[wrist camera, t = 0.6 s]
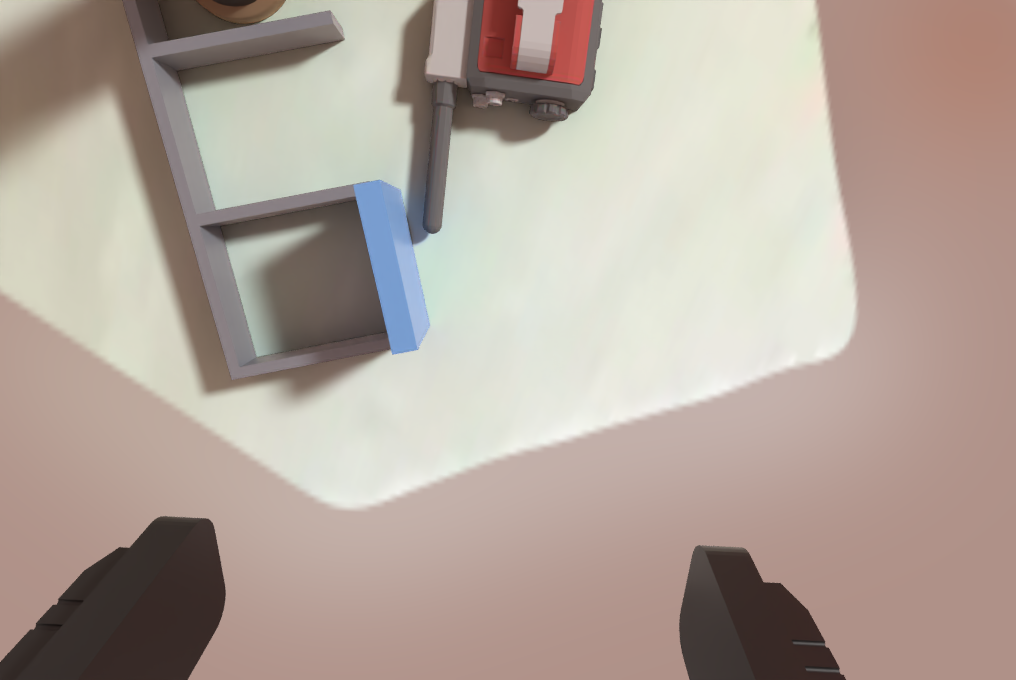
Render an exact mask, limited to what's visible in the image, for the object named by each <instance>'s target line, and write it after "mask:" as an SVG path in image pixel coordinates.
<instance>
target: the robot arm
mask: <svg viewBox="0 0 1016 680" xmlns="http://www.w3.org/2000/svg"><path fill="white" fill-rule="evenodd" d="M225 595H226V593H225V583H224V578H223V573H222V567H221V561H220V556H219V550H218V545H217V540H216V534H215V529H214V526H213V523H212V522H211V521H210V520H209V519H206V518H185V517H167V516H163V517H159V518H157V519H155V520H154V521H153V522H152V523H151V524H150V525H149V526H148V527H147V528H146V530H145V531H144V532H143V533H142V534H141V535H140V536H139V538H138V539H137V540H136V541H135V542H134V543H133V545H132V546H131V547H130V548H121V547H119V548H118V549H116V550H115V551H113V552H112V553H110V554H109V555H107V556H106V557H104V558H103V559H101V560H100V561H98V562H97V563H95V564H94V565H92V566H91V567H89V568H88V569H86V570H85V571H84V572H83V573H82V574H81V575H80V576H79V577H78V578H77V579H76V581H75V582H74V583H73V584H72V585H71V586H70V587H69V588H68V589H67V590H66V591H65V593H63V595H62V596H61V597H60V598H59V599H58V600H59V601H58V603H57V605H52V607H51V608H50V609H49V610H48V611H47V612H46V613H45V614H44V615H43V616H42V617H41V618H40V620H39V621H38V622H37V623H36V627H35V629H34V630H30V631H29V632H28V633H27V634H26V635H25V636H24V637H23V638H22V639H21V640H20V641H19V642H18V644H17V645H16V646H15V647H14V648H13V649H12V650H11V651H10V652H9V653H8V654H7V655H6V656H5V658H4V659H3V660H2V661H1V662H0V680H188V678H189V676H190V674H191V673H192V671H193V669H194V667H195V666H196V664H197V662H198V661H199V659H200V657H201V655H202V654H203V652H204V650H205V648H206V647H207V645H208V643H209V641H210V640H211V638H212V636H213V634H214V633H215V631H216V629H217V627H218V625H219V622H220V620H221V617H222V613H223V610H224V604H225ZM679 626H680V627H679V629H680V630H679V631H680V643H681V649H682V654H683V657H684V662H685V665H686V669H687V672H688V676H689V679H690V680H846V679H845V677H844V675H841V674H840V672H839V666H838V664H837V662H836V660H835V659H834V657H833V655H832V653H831V651H830V649H829V648H826V647H825V641H824V639H823V637H822V635H821V633H820V631H819V629H818V628H817V626H816V624H815V622H814V620H813V618H812V617H811V615H810V613H809V611H808V610H807V609H806V608H805V607H804V606H803V605H802V604H801V603H800V602H799V601H798V600H797V599H796V598H795V597H794V596H793V595H792V594H791V593H790V592H789V591H788V590H787V589H786V588H785V587H784V586H783V585H782V584H781V583H764V582H763V581H762V578H761V576H760V575H759V573H758V570H757V568H756V566H755V564H754V562H753V560H752V558H751V556H750V554H749V553H748V551H747V550H746V549H744V548H739V547H719V546H700V545H699V546H697V547H695V549H694V551H693V555H692V559H691V564H690V569H689V574H688V579H687V583H686V589H685V593H684V598H683V603H682V607H681V613H680V623H679Z"/></svg>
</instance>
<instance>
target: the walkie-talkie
mask: <svg viewBox="0 0 1016 680" xmlns="http://www.w3.org/2000/svg"><path fill="white" fill-rule="evenodd" d="M602 10H603V3H602V0H434V5H433V15H432V26H431V36H430V47H429V56H428V58H427V59H426V60H425V71H424V75H425V78H426V80H427V82H429V83H433V92H432V105H433V106H434V109H433V120H432V130H431V141H430V152H429V163H428V174H427V185H426V196H425V206H424V217H423V227H424V229H425V230H426V231H427V232H428V233H431V234H434V233H437V232H438V231H440V229H441V226H442V216H443V206H444V196H445V186H446V176H447V165H448V155H449V145H450V135H451V125H452V115H453V109H455V108H456V100H457V90H458V87H462V88H468V90H469V91H470V93H471V95H472V99H473V106H474V107H478V108H488V104H489V105H494V106H501V105H502V100H503V101H510V102H517V103H524V104H532V105H531V106H530V112H529V113H530V115H531V116H532V117H534V118H537V119H541V120H546V121H563V120H566V119H567V118H568V110H575V111H577V110H578V109H579V108H580V107H581V106H582V104H583V103H584V102H585V101H586V100H587V98H588V97H589V96H590V95H591V91H592V90H593V88H594V81H595V74H596V71H595V69H594V67H595V60H596V53H597V49H598V48H599V45H600V38H601V31H602V28H600V24H601V17H602Z"/></svg>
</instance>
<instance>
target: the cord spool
mask: <svg viewBox="0 0 1016 680" xmlns="http://www.w3.org/2000/svg"><path fill="white" fill-rule="evenodd" d="M196 1H197V2H198V3H199V4H200V5H202V6H203V7H204V8H205V9H207V10H208V11H209V12H211V13H212V14H214V15H215V16H217V17H219V18H221V19H223V20H225V21H229V22H232V23H238V24H249V23H255V22H259V21H262V20H264V19H266V18H268V17H270V16H271V15H273V14H274V13H275V12H276V11H278V10H279V8H280V7H281V6H282V5H283V4H284V2H285V1H286V0H196Z"/></svg>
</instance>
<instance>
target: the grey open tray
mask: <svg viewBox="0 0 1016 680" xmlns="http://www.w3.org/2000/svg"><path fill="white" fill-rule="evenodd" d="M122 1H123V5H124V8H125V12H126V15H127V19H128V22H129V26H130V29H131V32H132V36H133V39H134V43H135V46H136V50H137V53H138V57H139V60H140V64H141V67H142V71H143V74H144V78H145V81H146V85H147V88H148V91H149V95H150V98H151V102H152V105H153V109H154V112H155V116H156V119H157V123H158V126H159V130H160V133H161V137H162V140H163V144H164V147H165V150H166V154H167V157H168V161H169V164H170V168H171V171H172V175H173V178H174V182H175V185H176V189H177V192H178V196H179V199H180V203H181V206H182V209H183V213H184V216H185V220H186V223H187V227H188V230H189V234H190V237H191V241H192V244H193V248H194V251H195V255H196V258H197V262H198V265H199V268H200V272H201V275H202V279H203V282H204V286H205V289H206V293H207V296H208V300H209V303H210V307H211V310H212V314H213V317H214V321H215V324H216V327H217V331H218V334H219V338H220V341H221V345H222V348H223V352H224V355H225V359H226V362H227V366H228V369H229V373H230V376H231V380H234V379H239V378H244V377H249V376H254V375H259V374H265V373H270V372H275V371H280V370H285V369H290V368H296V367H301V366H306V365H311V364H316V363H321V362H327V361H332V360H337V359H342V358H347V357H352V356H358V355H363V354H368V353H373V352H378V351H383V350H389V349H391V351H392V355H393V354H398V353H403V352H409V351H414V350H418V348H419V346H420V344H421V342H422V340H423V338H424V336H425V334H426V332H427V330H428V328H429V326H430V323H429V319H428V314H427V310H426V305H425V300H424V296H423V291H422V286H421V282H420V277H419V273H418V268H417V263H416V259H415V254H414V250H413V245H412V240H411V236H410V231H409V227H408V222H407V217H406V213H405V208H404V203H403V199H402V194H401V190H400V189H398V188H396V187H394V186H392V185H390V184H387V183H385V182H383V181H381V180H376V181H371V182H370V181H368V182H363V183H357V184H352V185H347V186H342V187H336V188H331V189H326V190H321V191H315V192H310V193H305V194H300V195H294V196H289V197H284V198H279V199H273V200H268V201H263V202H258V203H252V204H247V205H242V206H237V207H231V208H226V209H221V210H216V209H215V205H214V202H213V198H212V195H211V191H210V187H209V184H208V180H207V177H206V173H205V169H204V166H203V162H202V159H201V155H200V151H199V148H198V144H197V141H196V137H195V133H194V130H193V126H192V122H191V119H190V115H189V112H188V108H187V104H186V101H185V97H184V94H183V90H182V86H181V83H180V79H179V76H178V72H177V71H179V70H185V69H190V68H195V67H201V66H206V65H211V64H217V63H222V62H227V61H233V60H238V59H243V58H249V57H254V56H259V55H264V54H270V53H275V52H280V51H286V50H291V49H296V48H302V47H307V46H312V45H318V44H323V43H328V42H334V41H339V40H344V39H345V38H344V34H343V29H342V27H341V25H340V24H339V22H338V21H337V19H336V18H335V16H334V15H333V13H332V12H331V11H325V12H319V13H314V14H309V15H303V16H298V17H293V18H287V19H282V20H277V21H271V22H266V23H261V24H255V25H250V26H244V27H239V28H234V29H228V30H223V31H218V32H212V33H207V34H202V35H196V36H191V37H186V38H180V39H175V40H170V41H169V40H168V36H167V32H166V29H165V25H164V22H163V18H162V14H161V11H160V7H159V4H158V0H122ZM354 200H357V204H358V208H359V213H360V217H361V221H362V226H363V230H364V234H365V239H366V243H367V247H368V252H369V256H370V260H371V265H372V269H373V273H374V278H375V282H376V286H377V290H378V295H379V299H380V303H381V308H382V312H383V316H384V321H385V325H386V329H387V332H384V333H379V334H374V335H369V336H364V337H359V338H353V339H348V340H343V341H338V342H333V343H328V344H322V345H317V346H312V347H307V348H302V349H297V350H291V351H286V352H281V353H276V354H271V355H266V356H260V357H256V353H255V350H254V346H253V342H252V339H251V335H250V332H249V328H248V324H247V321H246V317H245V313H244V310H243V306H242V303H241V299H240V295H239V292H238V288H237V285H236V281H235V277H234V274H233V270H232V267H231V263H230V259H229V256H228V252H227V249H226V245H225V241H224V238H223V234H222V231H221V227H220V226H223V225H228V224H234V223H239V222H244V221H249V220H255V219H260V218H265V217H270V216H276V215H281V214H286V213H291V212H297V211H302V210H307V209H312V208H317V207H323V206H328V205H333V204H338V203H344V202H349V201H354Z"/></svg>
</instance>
